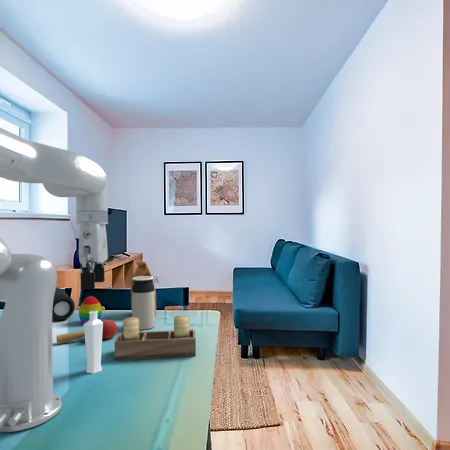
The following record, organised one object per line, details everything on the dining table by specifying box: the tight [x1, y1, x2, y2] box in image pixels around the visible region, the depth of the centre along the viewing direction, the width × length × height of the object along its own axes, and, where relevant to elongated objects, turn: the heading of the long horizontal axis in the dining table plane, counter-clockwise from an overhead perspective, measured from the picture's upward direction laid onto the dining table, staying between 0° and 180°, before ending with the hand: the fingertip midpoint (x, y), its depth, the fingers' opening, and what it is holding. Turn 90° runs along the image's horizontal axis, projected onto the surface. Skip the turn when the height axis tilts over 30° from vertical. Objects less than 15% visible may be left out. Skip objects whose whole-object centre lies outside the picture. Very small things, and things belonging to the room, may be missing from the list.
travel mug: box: [131, 275, 156, 331], centre depth 124 cm, size 8×8×18 cm
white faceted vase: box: [83, 311, 103, 375], centre depth 87 cm, size 5×4×15 cm
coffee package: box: [130, 260, 157, 318], centre depth 140 cm, size 10×12×22 cm
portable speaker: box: [52, 287, 76, 322], centre depth 142 cm, size 26×10×10 cm, turn 33°
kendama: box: [55, 319, 118, 346], centre depth 110 cm, size 8×6×18 cm
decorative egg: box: [78, 295, 103, 325], centre depth 130 cm, size 8×8×10 cm
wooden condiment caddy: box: [114, 314, 197, 361], centre depth 99 cm, size 8×22×10 cm, turn 96°
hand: (93, 285), depth 87 cm, fingers open, 9 cm apart
